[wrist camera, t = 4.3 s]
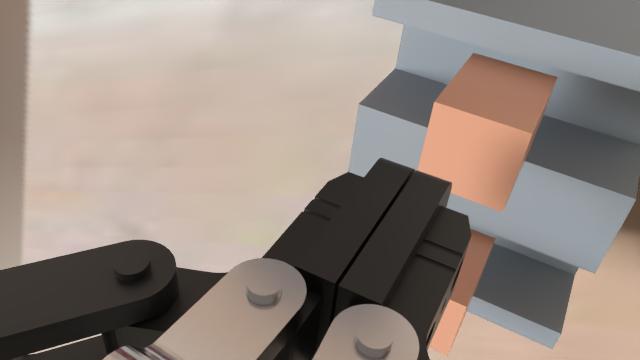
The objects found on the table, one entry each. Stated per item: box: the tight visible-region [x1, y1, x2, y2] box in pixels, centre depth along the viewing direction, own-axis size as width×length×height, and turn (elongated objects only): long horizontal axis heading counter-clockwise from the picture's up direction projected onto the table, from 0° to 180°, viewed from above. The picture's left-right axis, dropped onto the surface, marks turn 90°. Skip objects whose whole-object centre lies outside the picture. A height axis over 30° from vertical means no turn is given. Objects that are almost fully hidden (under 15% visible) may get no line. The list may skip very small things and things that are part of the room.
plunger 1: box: [418, 53, 558, 212], centre depth 14 cm, size 2×2×3 cm
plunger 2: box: [429, 229, 495, 356], centre depth 18 cm, size 2×2×3 cm
